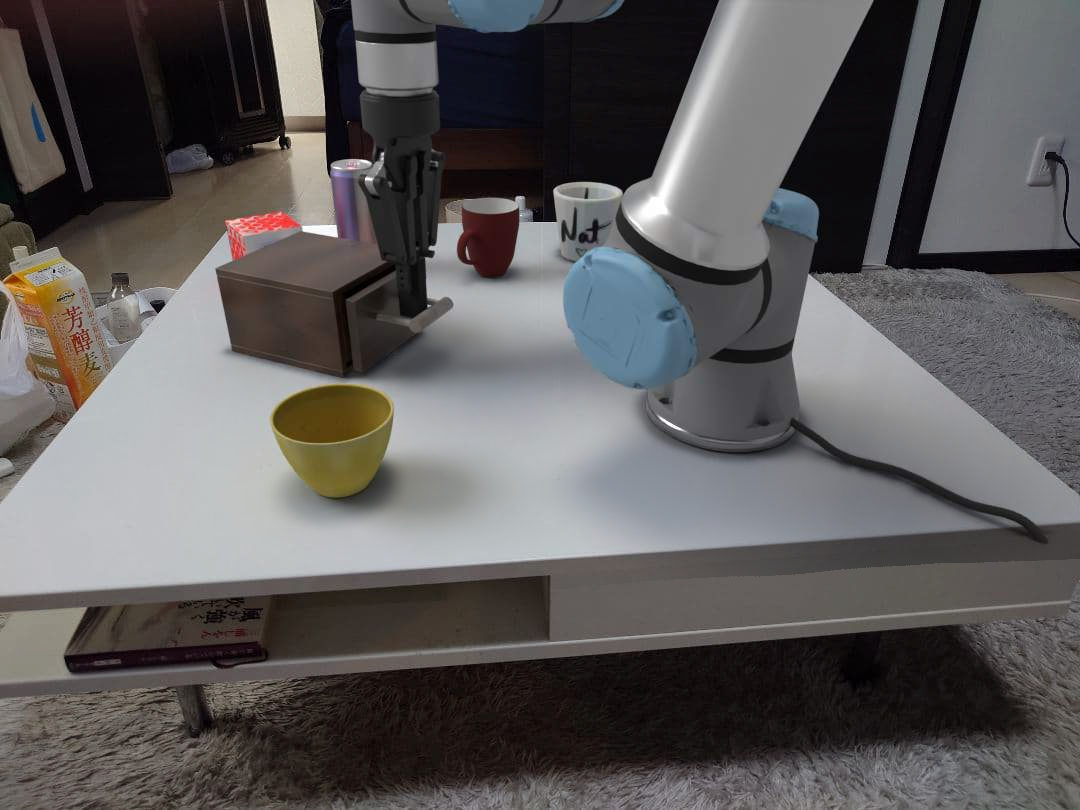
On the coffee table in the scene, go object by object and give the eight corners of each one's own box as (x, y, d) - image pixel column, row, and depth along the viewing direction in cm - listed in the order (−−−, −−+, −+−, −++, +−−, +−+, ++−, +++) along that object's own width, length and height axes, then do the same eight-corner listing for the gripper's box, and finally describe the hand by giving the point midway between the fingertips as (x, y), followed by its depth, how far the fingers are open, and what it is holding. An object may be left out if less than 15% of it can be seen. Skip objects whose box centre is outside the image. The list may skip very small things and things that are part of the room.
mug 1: (489, 293, 106) (488, 222, 101) (442, 281, 110) (438, 212, 104) (529, 270, 114) (530, 203, 109) (484, 260, 117) (483, 194, 112)
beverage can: (341, 276, 111) (329, 169, 103) (341, 262, 116) (329, 159, 108) (384, 273, 112) (374, 168, 104) (381, 259, 117) (372, 158, 109)
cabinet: (413, 327, 96) (408, 249, 91) (343, 378, 85) (332, 292, 79) (311, 305, 101) (300, 230, 96) (231, 350, 90) (214, 268, 85)
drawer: (468, 334, 93) (466, 268, 88) (408, 383, 82) (403, 311, 78) (328, 305, 99) (320, 243, 95) (256, 347, 89) (243, 279, 84)
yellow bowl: (388, 440, 74) (381, 375, 70) (410, 502, 66) (405, 431, 62) (278, 460, 71) (266, 392, 67) (288, 527, 63) (274, 454, 59)
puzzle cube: (289, 264, 114) (281, 211, 110) (309, 280, 109) (301, 225, 105) (235, 275, 110) (224, 220, 106) (253, 292, 105) (242, 236, 101)
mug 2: (547, 264, 116) (549, 197, 111) (558, 233, 129) (560, 172, 124) (616, 268, 115) (621, 202, 110) (621, 237, 128) (625, 176, 123)
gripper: (402, 77, 80) (415, 289, 92) (324, 95, 70) (351, 331, 82) (466, 83, 78) (471, 300, 90) (395, 102, 67) (412, 345, 80)
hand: (414, 315), depth 86 cm, fingers closed
